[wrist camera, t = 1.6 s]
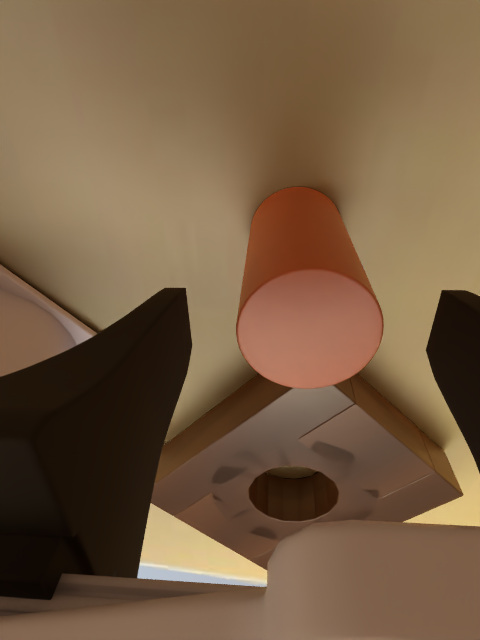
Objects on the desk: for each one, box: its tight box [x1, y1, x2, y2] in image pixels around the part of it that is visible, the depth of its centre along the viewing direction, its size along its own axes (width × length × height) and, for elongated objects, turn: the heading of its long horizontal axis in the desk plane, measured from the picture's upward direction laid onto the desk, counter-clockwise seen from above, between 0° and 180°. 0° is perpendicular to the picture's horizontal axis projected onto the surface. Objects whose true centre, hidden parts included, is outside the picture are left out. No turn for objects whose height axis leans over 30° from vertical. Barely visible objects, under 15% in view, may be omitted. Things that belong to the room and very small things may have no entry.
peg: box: [236, 187, 384, 389], centre depth 14 cm, size 4×4×8 cm
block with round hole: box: [151, 373, 463, 571], centre depth 24 cm, size 12×14×3 cm
